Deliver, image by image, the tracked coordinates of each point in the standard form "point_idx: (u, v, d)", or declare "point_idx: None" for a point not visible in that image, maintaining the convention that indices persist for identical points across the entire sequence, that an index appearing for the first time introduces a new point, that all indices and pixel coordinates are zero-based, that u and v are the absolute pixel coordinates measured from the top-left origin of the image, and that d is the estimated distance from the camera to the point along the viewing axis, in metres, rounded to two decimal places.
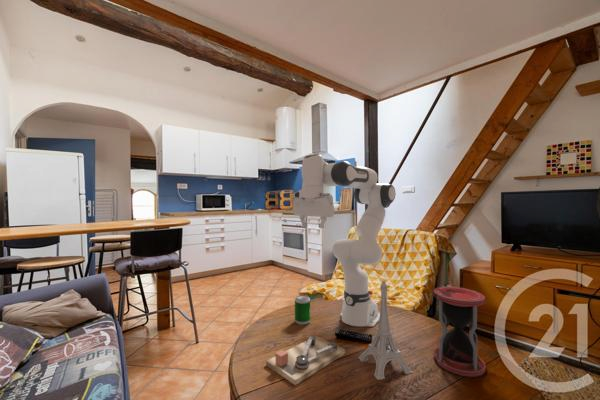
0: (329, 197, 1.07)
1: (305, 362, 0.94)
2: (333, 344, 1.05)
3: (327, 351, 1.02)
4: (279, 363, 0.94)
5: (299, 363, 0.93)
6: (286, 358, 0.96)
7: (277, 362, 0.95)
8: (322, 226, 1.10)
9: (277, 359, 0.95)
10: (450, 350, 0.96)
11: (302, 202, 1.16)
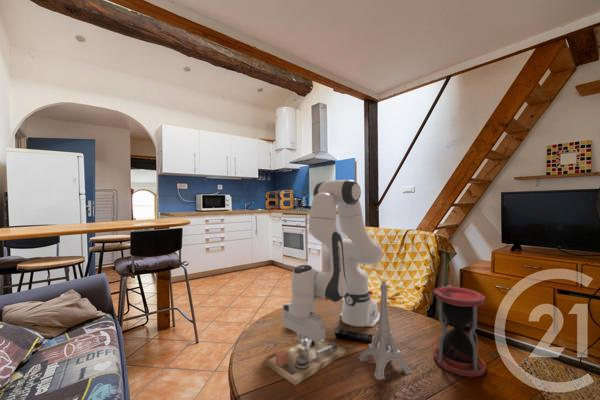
0: (320, 321, 0.99)
1: (305, 362, 0.94)
2: (333, 344, 1.05)
3: (327, 351, 1.02)
4: (279, 363, 0.94)
5: (299, 363, 0.93)
6: (286, 358, 0.96)
7: (277, 362, 0.95)
8: (305, 344, 1.05)
9: (277, 359, 0.95)
10: (450, 350, 0.96)
11: (292, 316, 1.08)
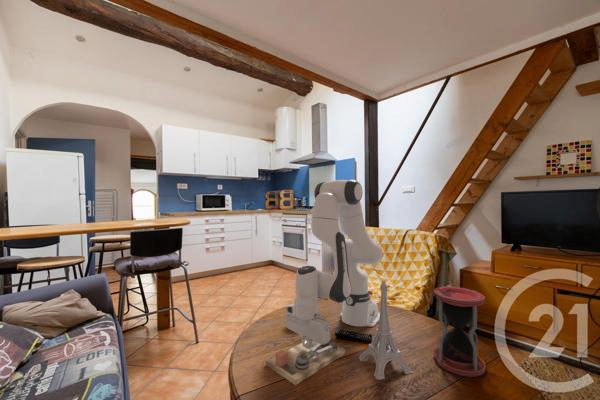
0: (325, 322, 0.98)
1: (303, 362, 0.93)
2: (333, 344, 1.05)
3: (327, 351, 1.02)
4: (279, 363, 0.94)
5: (297, 362, 0.94)
6: (286, 358, 0.96)
7: (277, 362, 0.95)
8: (309, 346, 1.04)
9: (277, 359, 0.95)
10: (450, 350, 0.96)
11: (295, 318, 1.07)
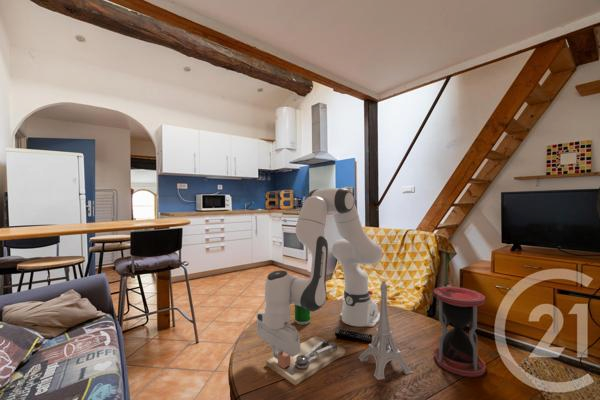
0: (294, 332, 0.91)
1: (303, 362, 0.93)
2: (333, 344, 1.05)
3: (327, 351, 1.02)
4: (281, 365, 0.94)
5: (297, 362, 0.94)
6: (288, 359, 0.95)
7: (279, 364, 0.94)
8: None
9: (279, 361, 0.94)
10: (450, 350, 0.96)
11: (266, 326, 0.99)
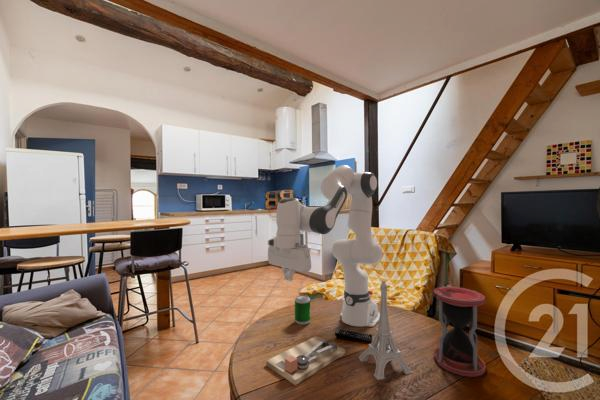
0: (305, 250, 0.95)
1: (303, 362, 0.93)
2: (333, 344, 1.05)
3: (327, 351, 1.02)
4: (288, 369, 0.91)
5: (297, 362, 0.94)
6: (296, 364, 0.92)
7: (286, 368, 0.92)
8: (290, 278, 1.01)
9: (286, 365, 0.92)
10: (450, 350, 0.96)
11: (277, 251, 1.04)
